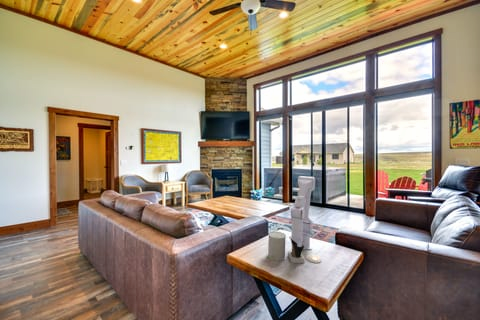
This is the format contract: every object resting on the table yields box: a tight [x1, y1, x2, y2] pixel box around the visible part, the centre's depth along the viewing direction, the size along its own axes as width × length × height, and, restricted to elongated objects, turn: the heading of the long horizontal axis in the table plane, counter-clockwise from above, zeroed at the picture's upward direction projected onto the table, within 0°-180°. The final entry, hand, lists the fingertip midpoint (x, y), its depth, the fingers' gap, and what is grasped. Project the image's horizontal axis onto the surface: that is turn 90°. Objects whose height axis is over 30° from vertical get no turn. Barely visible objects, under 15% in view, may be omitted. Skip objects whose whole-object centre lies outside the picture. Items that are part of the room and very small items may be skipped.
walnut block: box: [291, 244, 301, 257], centre depth 115 cm, size 4×4×7 cm
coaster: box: [305, 254, 323, 264], centre depth 116 cm, size 8×8×1 cm
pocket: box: [287, 250, 305, 264], centre depth 115 cm, size 7×7×2 cm
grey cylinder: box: [267, 231, 287, 262], centre depth 118 cm, size 10×10×12 cm
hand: (296, 253), depth 115 cm, fingers open, 7 cm apart
